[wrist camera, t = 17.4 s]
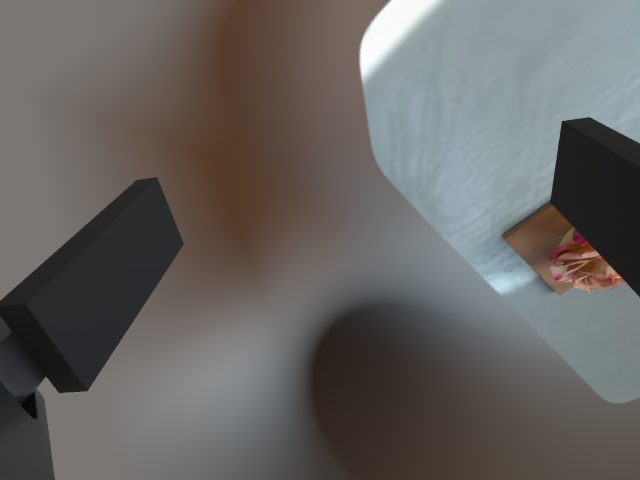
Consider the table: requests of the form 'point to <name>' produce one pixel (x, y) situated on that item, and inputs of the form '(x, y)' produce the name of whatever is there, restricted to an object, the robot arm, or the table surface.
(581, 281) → the flower
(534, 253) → the brown wooden square board
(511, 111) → the table surface
